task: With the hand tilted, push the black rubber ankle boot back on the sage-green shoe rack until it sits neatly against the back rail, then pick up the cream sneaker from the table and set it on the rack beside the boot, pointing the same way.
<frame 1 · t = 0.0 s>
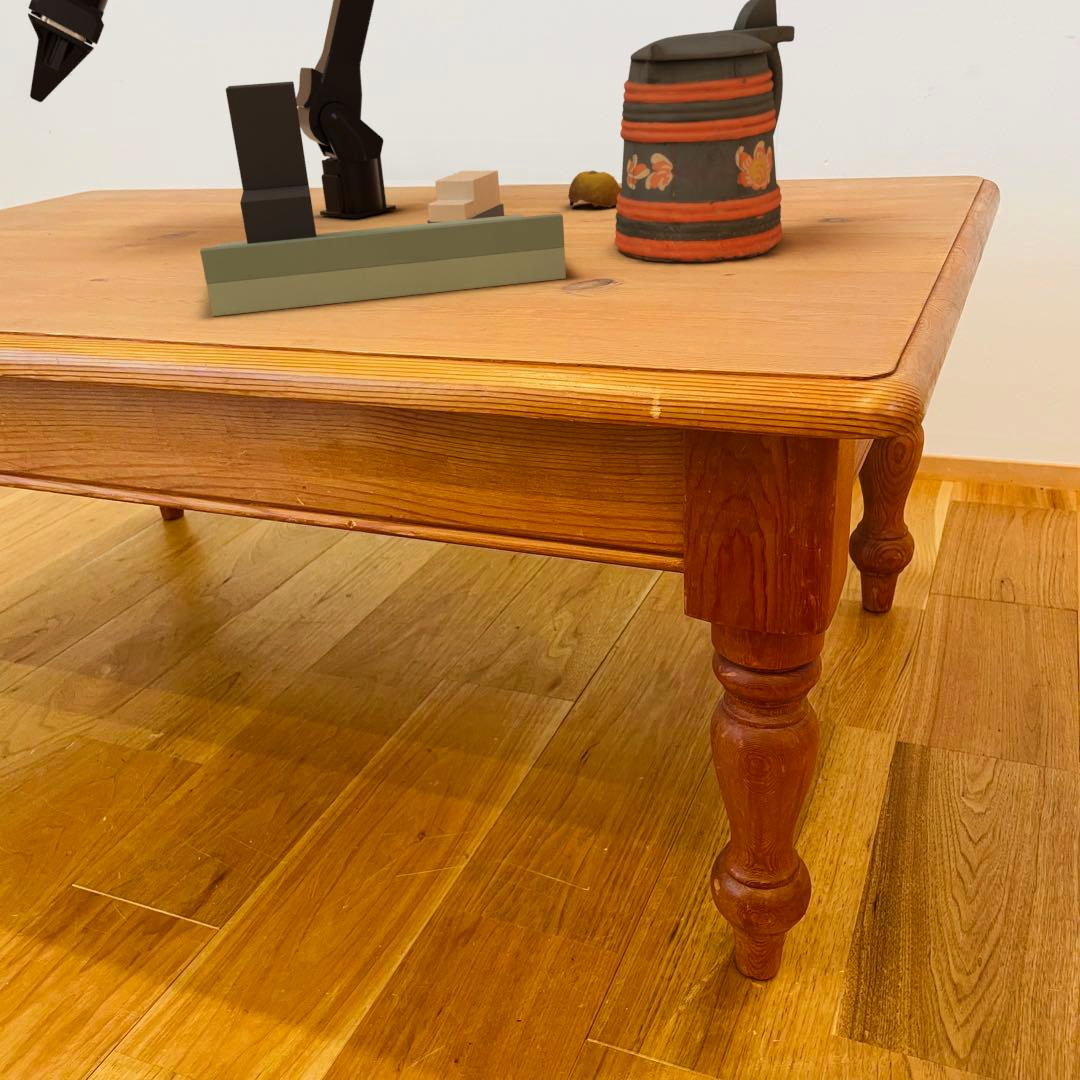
hand: (35, 98, 108), 15 cm above the table, tool tilted 35°, fingers open, 9 cm apart
sneaker: (467, 226, 112), on the table
shoe rack: (384, 274, 93), on the table
fruit: (609, 205, 121), on the table
beer stein: (710, 244, 97), on the table
boot: (285, 249, 93), point 2 cm above the table, touching shoe rack
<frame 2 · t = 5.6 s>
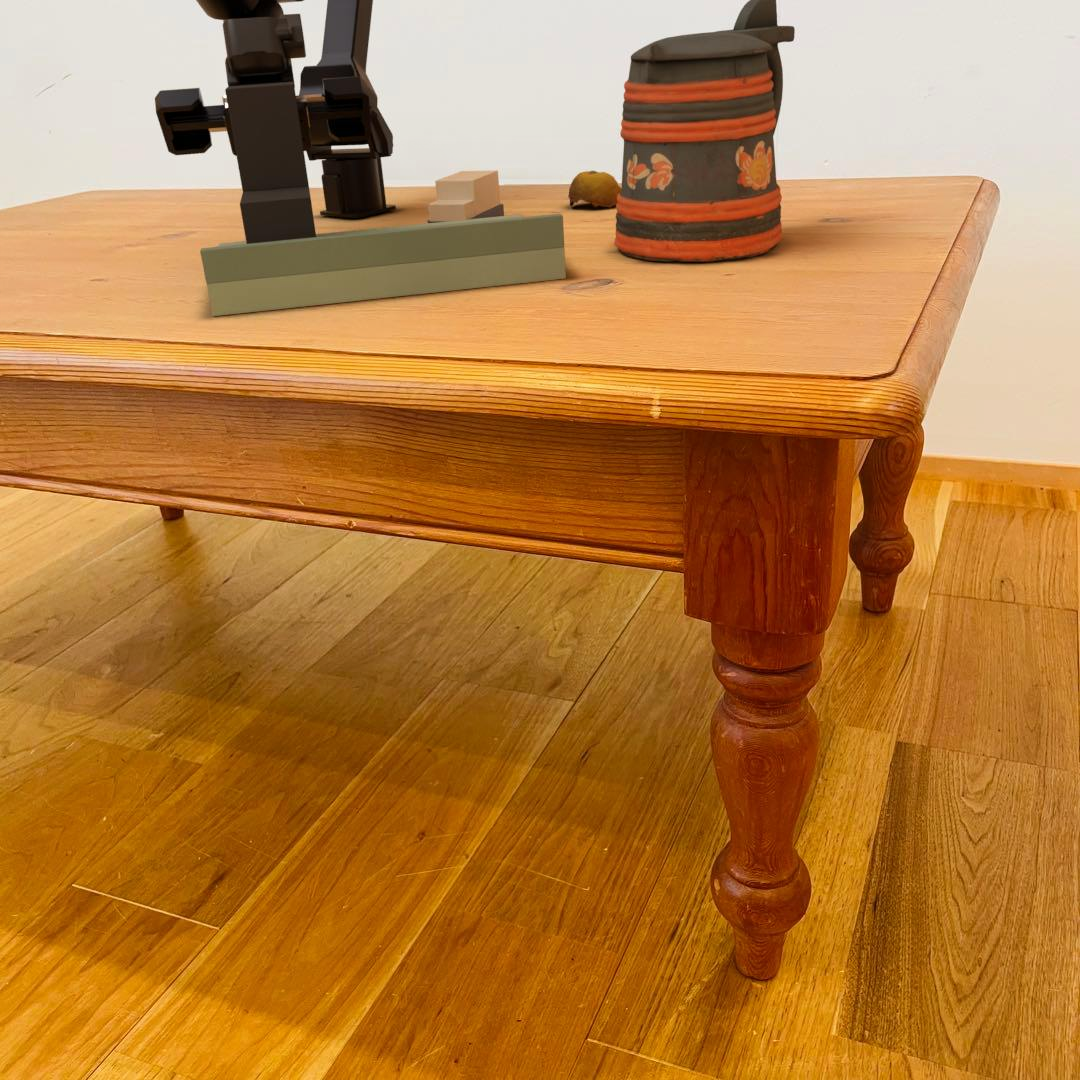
hand: (276, 190, 96), 7 cm above the table, tool tilted 45°, fingers closed, pressing on boot
boot: (285, 250, 92), point 2 cm above the table, touching gripper, shoe rack
everything else where it was.
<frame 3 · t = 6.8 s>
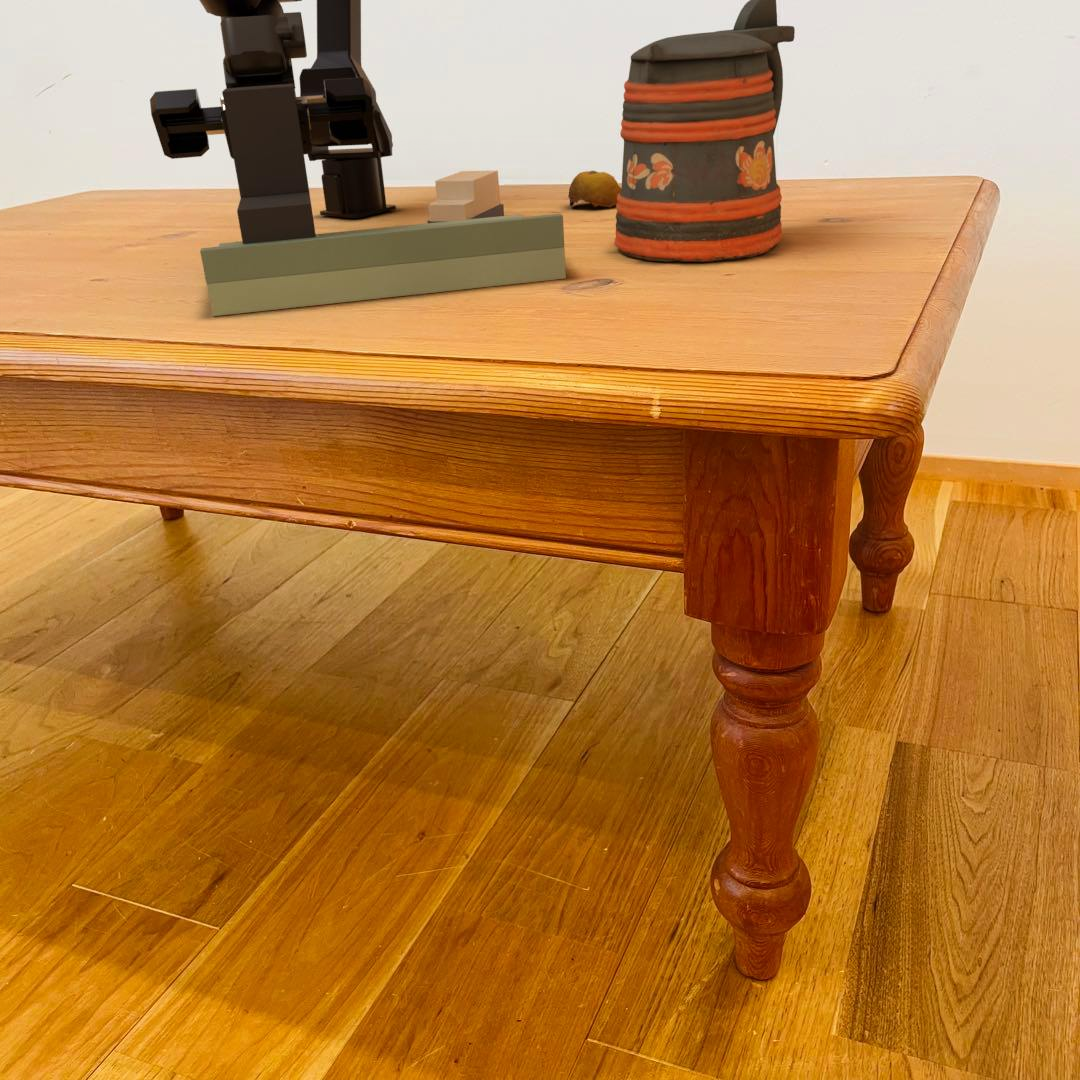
hand: (276, 195, 92), 7 cm above the table, tool tilted 45°, fingers closed, pressing on boot
boot: (284, 259, 89), point 2 cm above the table, touching gripper, shoe rack
everything else where it was.
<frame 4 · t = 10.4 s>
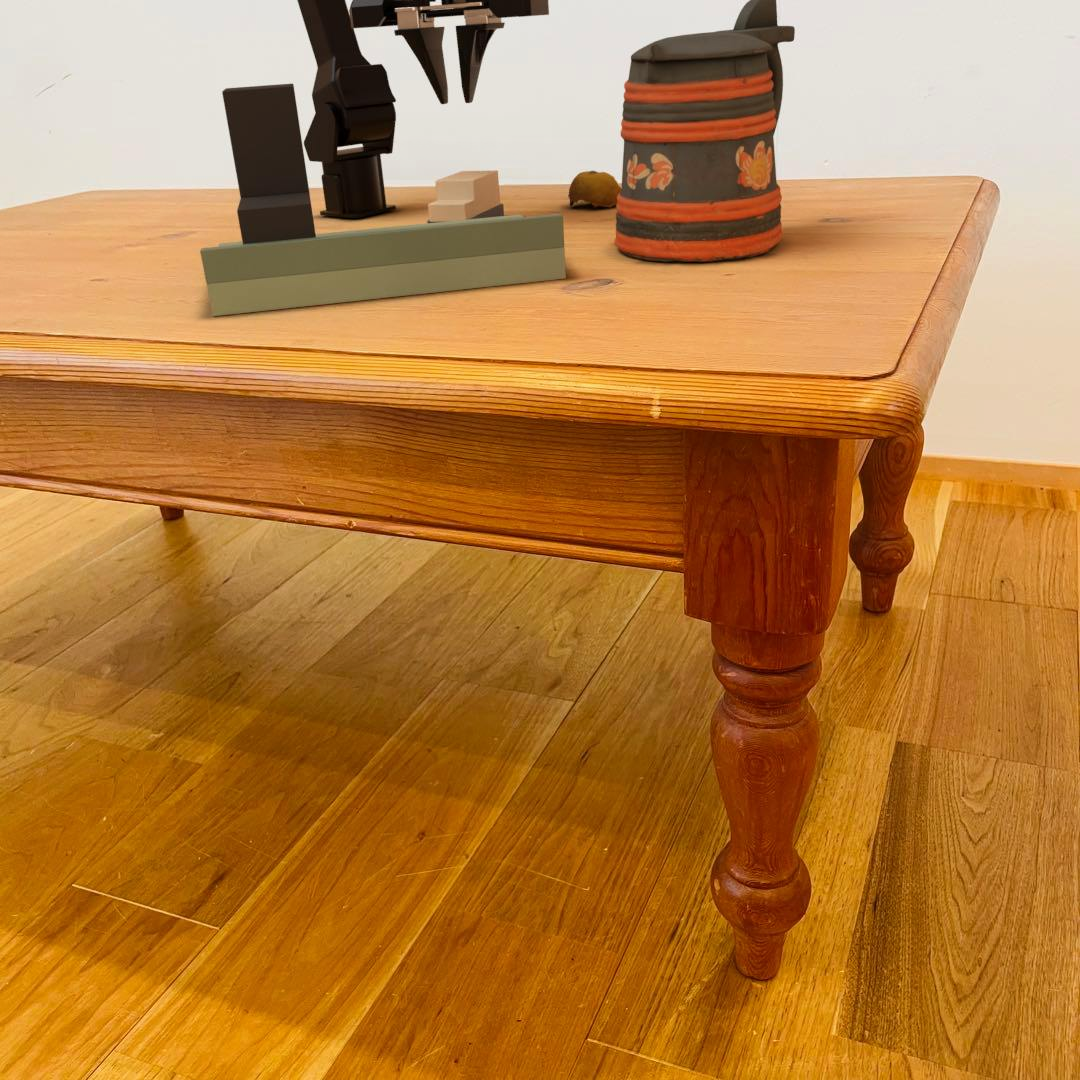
hand: (456, 103, 107), 12 cm above the table, tool pointing down, fingers closed
boot: (284, 259, 89), point 2 cm above the table, touching shoe rack
everything else where it was.
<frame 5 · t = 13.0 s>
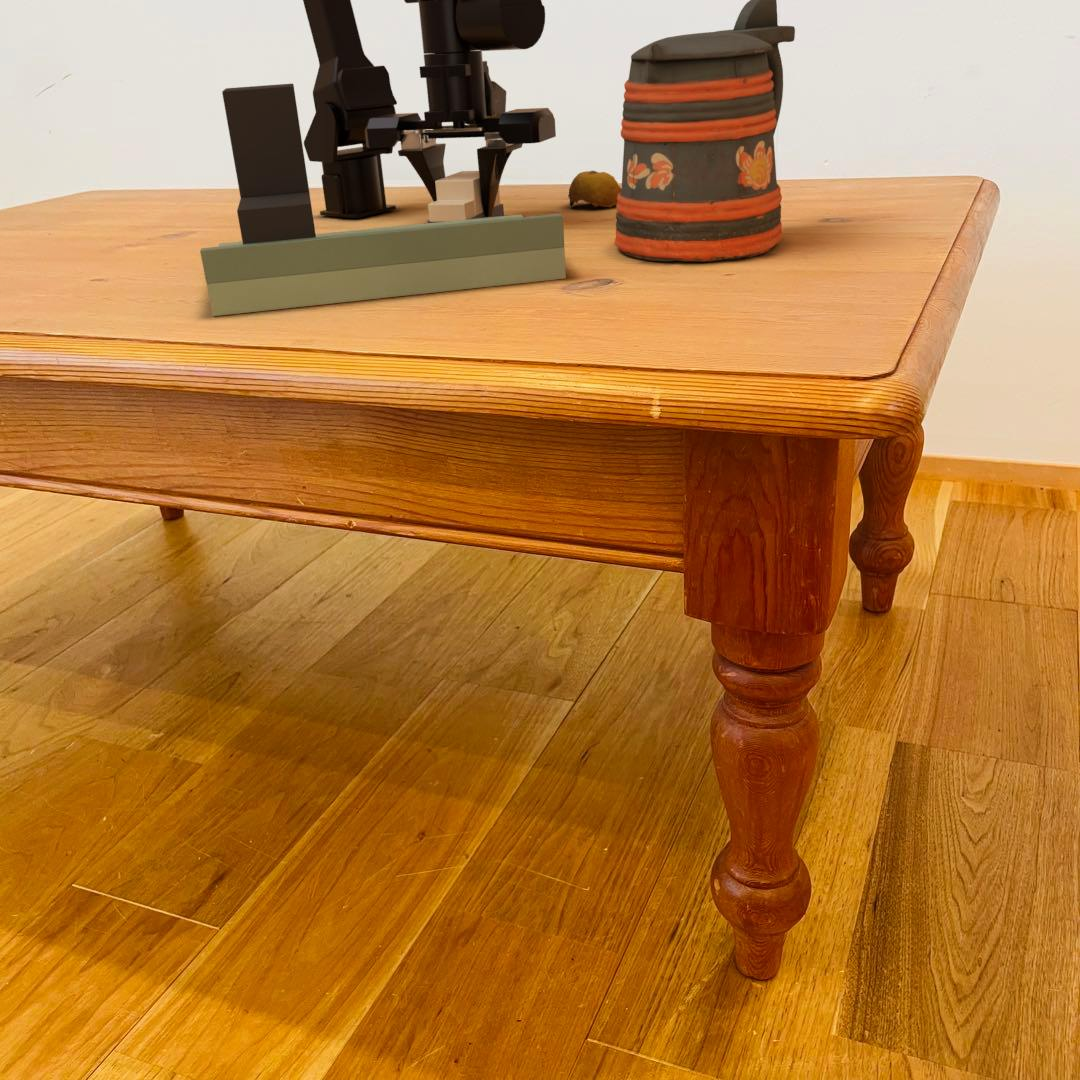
hand: (467, 216, 112), 1 cm above the table, tool pointing down, fingers closed on sneaker, 4 cm apart
sneaker: (467, 226, 112), on the table, touching gripper
everything else where it was.
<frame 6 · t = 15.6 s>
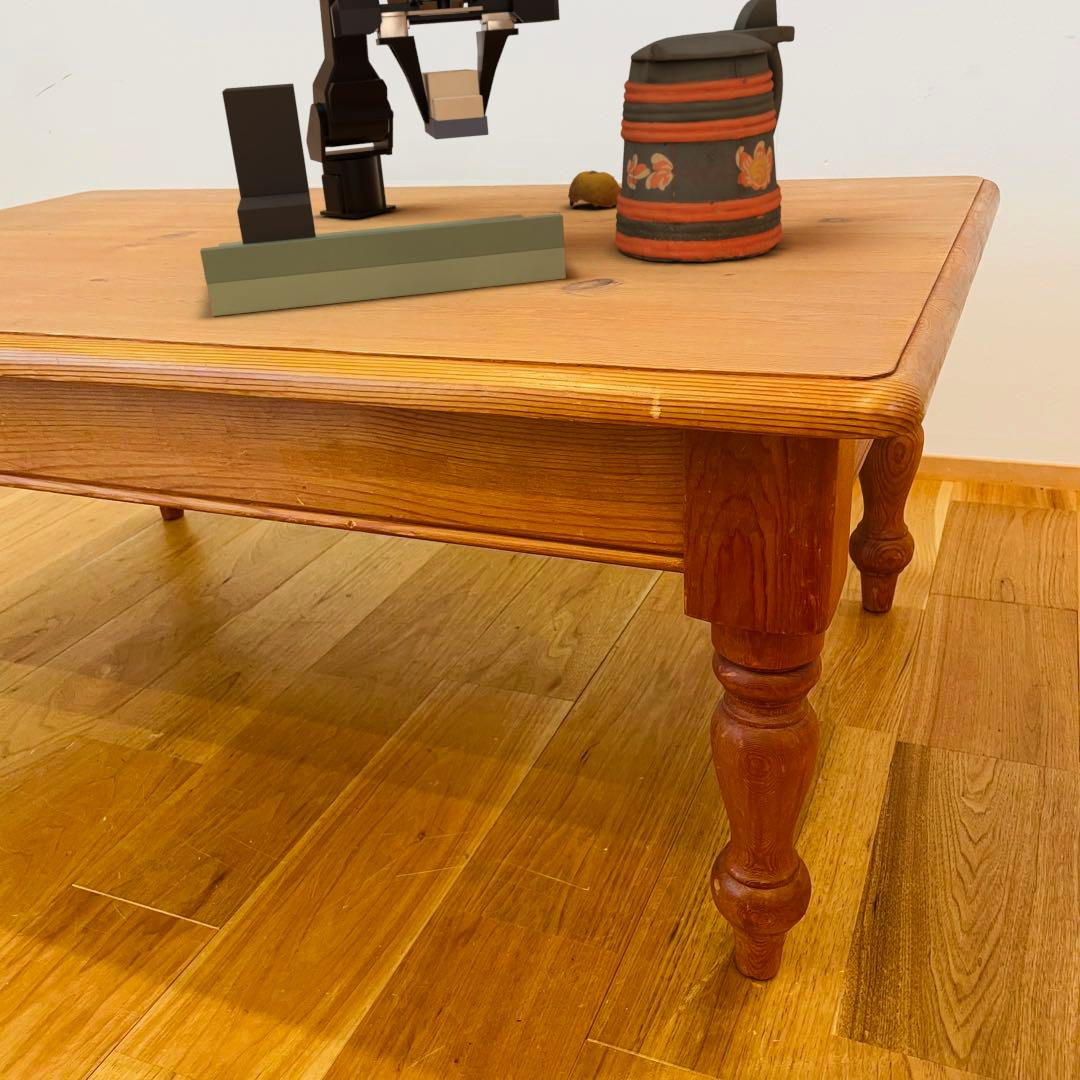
hand: (454, 121, 94), 11 cm above the table, tool pointing down, fingers closed on sneaker, 4 cm apart
sneaker: (455, 133, 94), point 10 cm above the table, touching gripper
everything else where it was.
when the fingers open (3 cm above the table, at t = 18.2 s): sneaker stays where it is, resting on shoe rack.
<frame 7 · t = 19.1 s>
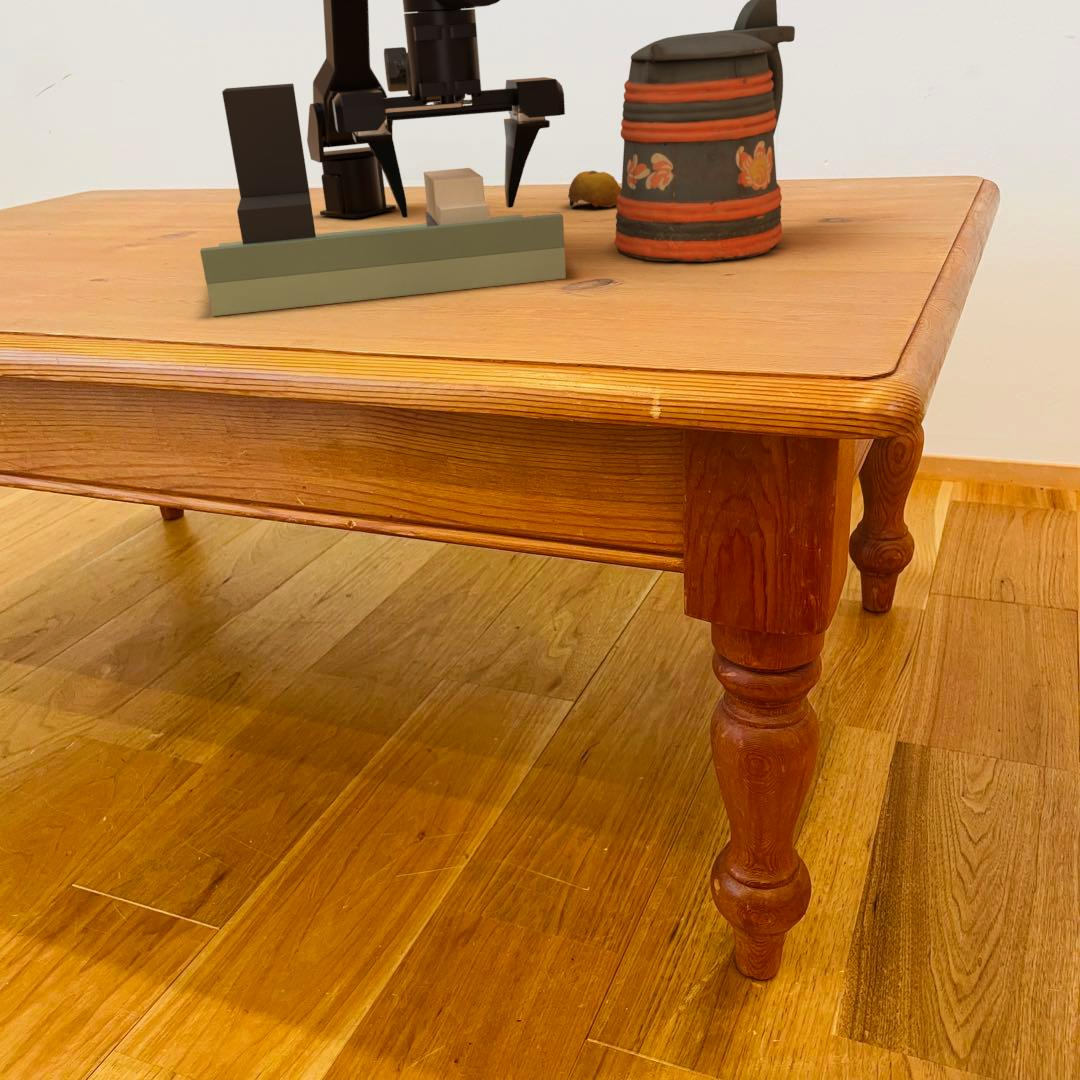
hand: (457, 211, 93), 4 cm above the table, tool pointing down, fingers open, 9 cm apart
sneaker: (459, 235, 94), point 2 cm above the table, touching shoe rack
everything else where it was.
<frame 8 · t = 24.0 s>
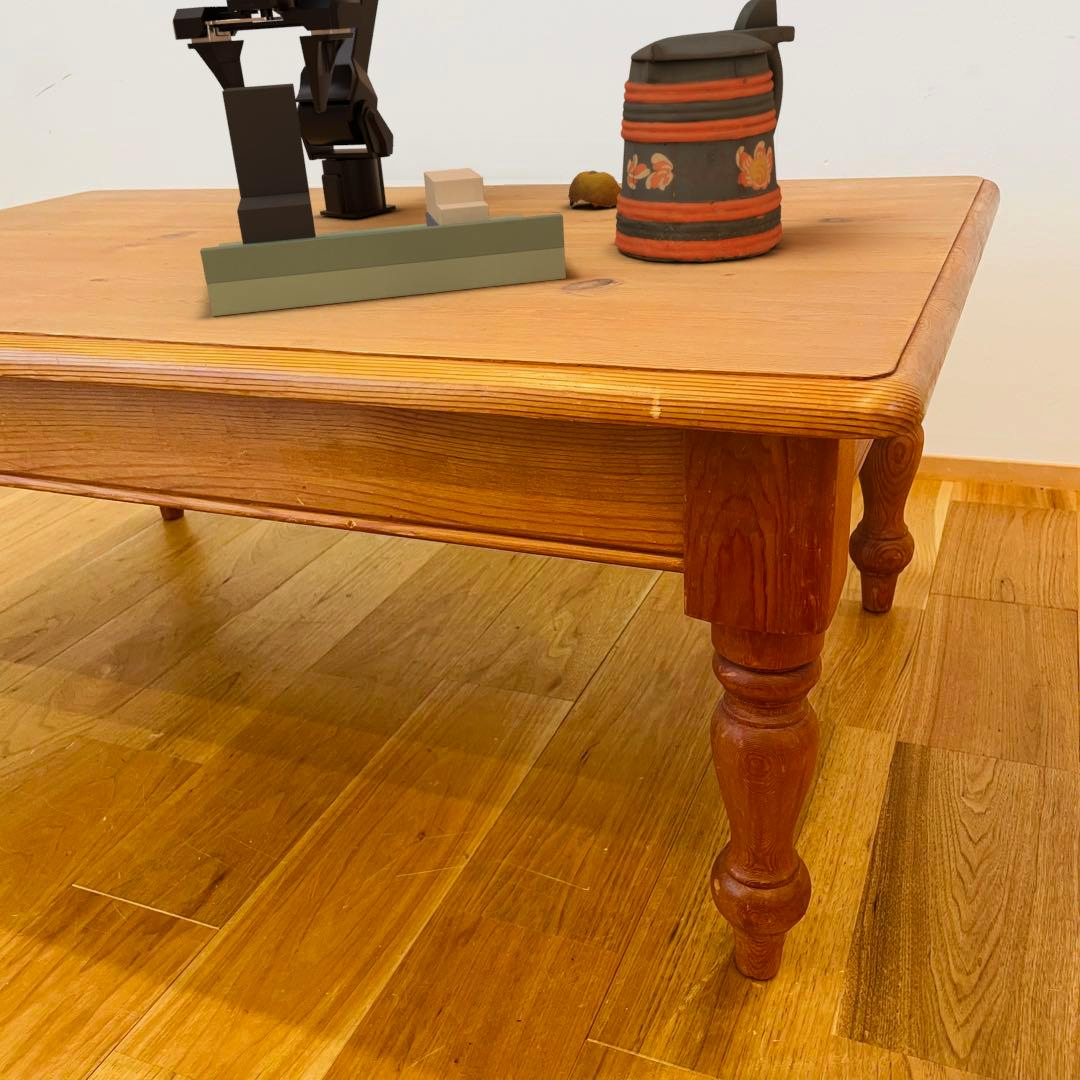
hand: (281, 113, 109), 12 cm above the table, tool pointing down, fingers open, 9 cm apart
nothing on the table moved.
at the end: boot 0.3 cm from the target spot on the shoe rack, point 2.5 cm above the shoe rack's base; boot tilted 0°; sneaker 0.2 cm from the target spot on the shoe rack, point 2.5 cm above the shoe rack's base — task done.
